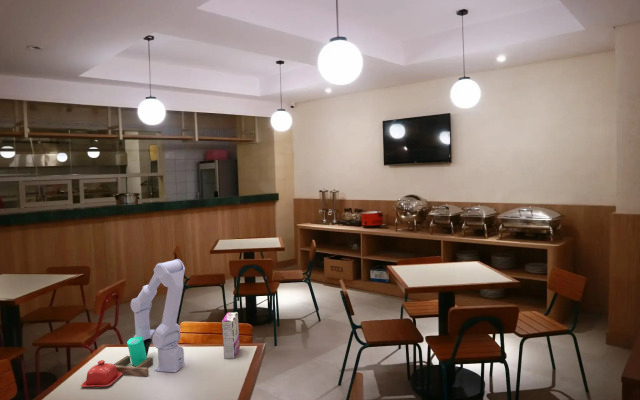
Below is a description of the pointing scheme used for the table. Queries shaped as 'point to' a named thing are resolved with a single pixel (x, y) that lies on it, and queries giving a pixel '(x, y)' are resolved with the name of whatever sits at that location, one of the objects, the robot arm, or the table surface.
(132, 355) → the candle
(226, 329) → the candy bar box
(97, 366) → the butter dish
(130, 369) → the brown wooden angled piece
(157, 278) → the robot arm
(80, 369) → the table surface
